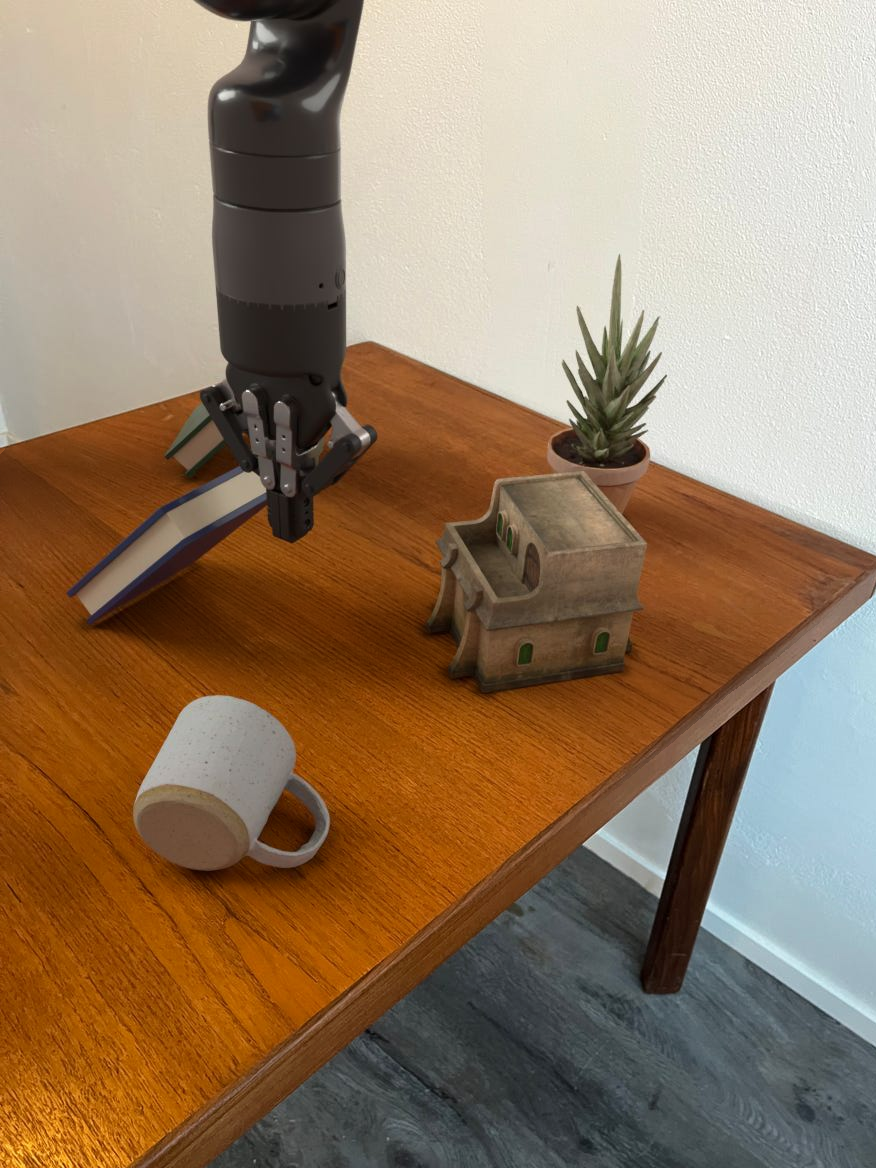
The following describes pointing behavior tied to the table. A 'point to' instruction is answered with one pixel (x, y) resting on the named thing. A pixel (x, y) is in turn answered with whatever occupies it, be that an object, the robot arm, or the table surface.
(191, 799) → the ceramic mug
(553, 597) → the miniature house
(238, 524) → the navy book
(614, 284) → the potted plant
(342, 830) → the table surface
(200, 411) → the green book
